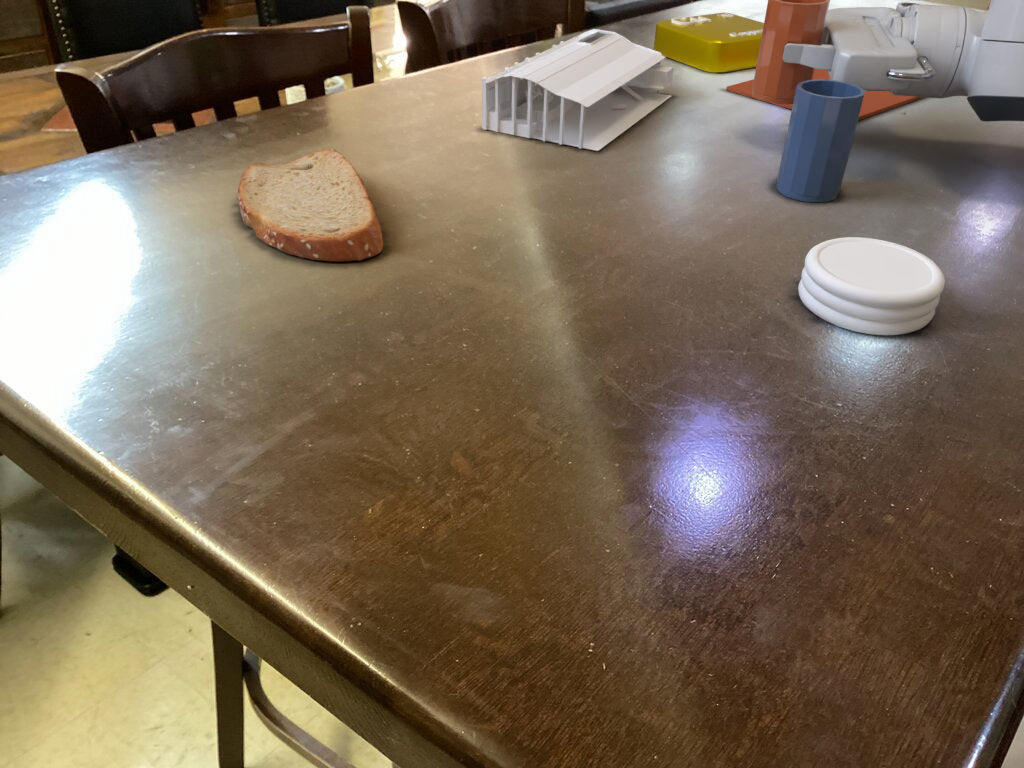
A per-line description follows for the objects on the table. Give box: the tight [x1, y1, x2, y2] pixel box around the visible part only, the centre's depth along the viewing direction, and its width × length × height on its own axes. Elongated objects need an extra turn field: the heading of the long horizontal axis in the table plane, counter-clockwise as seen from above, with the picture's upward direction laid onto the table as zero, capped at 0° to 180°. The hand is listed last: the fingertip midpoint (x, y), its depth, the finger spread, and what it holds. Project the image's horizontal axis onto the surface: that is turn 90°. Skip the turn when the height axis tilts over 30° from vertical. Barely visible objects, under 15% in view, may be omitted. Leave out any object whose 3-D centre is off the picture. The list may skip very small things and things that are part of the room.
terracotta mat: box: [725, 69, 924, 121], centre depth 109 cm, size 18×20×1 cm
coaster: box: [797, 236, 946, 336], centre depth 62 cm, size 10×10×4 cm
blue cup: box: [775, 79, 866, 203], centre depth 79 cm, size 6×6×10 cm
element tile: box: [653, 12, 764, 74], centre depth 122 cm, size 15×15×5 cm
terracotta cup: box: [752, 0, 831, 105], centre depth 87 cm, size 6×6×10 cm
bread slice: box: [237, 148, 384, 262], centre depth 75 cm, size 18×18×4 cm
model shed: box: [481, 28, 674, 152], centre depth 99 cm, size 25×15×7 cm, turn 151°
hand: (781, 43), depth 87 cm, fingers closed on terracotta cup, 6 cm apart
